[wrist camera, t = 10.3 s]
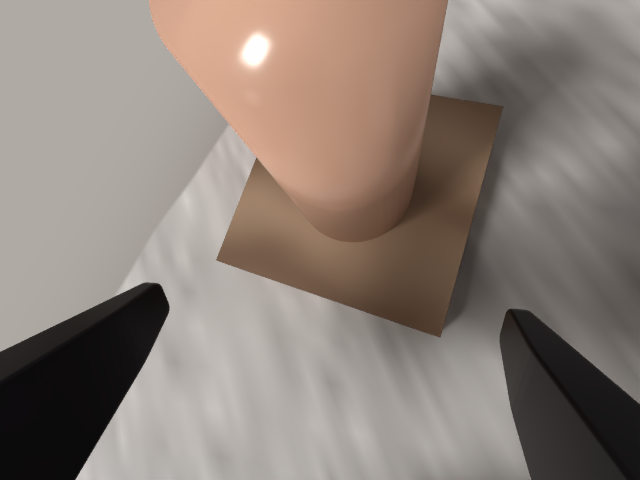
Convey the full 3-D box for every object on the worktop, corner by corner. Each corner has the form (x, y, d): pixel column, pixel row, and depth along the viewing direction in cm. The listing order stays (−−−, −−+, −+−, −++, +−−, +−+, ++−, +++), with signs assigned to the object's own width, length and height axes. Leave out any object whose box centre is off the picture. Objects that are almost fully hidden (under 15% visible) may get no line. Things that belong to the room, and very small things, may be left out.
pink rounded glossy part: (429, 223, 17) (517, 8, 5) (313, 256, 17) (166, 134, 6) (393, 120, 18) (399, -217, 7) (288, 155, 19) (136, -95, 8)
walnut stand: (434, 335, 17) (440, 337, 15) (232, 265, 20) (216, 260, 18) (491, 127, 19) (502, 106, 17) (298, 93, 22) (290, 72, 20)
